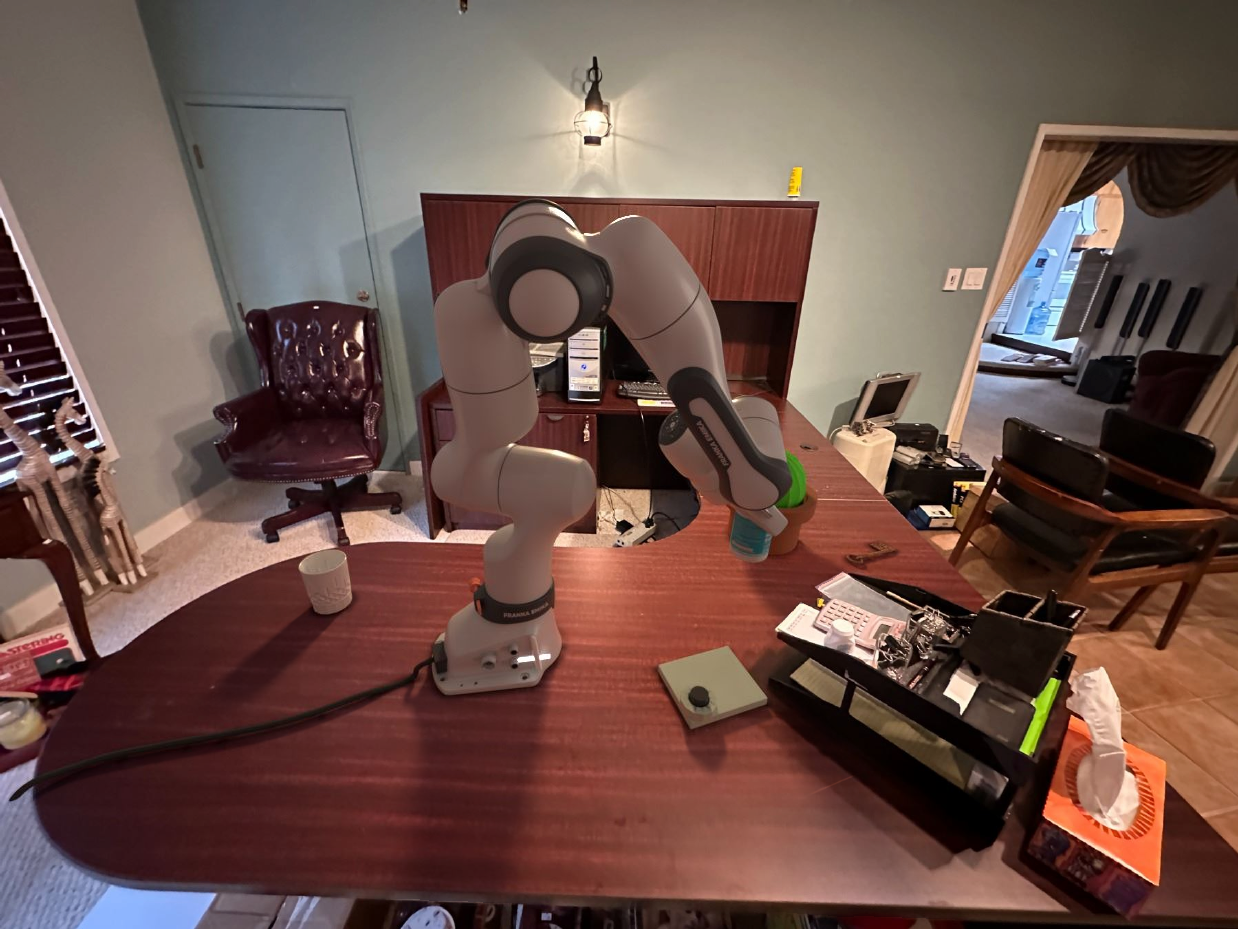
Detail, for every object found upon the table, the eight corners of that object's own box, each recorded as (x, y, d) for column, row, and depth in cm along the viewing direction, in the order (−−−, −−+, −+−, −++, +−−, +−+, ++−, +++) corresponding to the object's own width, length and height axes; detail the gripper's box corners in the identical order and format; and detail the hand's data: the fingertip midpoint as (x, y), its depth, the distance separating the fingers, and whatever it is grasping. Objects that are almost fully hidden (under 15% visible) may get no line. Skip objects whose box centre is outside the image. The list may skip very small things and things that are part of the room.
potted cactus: (796, 573, 113) (819, 474, 103) (705, 543, 123) (718, 450, 112) (813, 530, 131) (834, 442, 120) (733, 507, 140) (746, 424, 130)
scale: (689, 732, 75) (691, 718, 74) (655, 671, 86) (656, 658, 84) (767, 706, 80) (770, 692, 79) (726, 651, 90) (728, 638, 89)
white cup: (364, 597, 99) (355, 556, 95) (328, 622, 93) (317, 579, 89) (337, 585, 102) (327, 545, 98) (300, 608, 96) (288, 566, 92)
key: (881, 543, 127) (837, 554, 121) (882, 540, 126) (837, 551, 121) (901, 554, 122) (856, 566, 116) (902, 551, 121) (857, 562, 116)
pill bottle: (769, 567, 92) (782, 503, 87) (729, 561, 93) (739, 498, 88) (765, 545, 99) (777, 485, 94) (728, 540, 100) (738, 480, 95)
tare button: (695, 710, 76) (696, 702, 75) (686, 695, 78) (687, 688, 78) (711, 705, 77) (712, 697, 76) (702, 690, 79) (703, 683, 78)
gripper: (775, 490, 77) (809, 532, 85) (700, 445, 94) (734, 483, 102) (749, 521, 77) (784, 559, 85) (678, 469, 93) (713, 506, 102)
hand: (756, 517), depth 93 cm, fingers closed on pill bottle, 7 cm apart
